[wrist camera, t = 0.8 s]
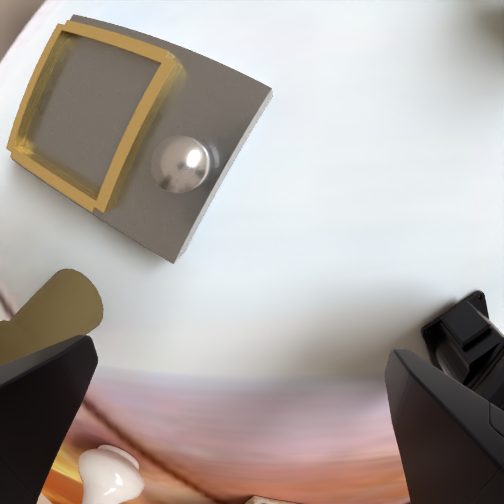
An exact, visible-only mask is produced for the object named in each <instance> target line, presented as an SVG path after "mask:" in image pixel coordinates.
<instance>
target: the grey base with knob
mask: <svg viewBox="0 0 504 504" xmlns="http://www.w3.org/2000/svg"><path fill="white" fill-rule="evenodd" d="M272 97H273V94H272V88H270V87H268V86H266V85H264V84H262V83H260V82H259V81H257V80H255V79H253V78H251V77H249V76H247V75H244V74H242V73H240V72H238V71H236V70H234V69H232V68H230V67H228V66H225V65H223V64H221V63H219V62H217V61H214V60H212V59H210V58H207V57H205V56H203V55H200V54H198V53H195V52H193V51H191V50H188V49H185V48H183V47H180V46H178V45H175V44H172V43H170V42H167V41H164V40H161V39H159V38H156V37H153V36H150V35H147V34H144V33H141V32H138V31H135V30H131V29H128V28H125V27H121V26H118V25H114V24H111V23H107V22H103V21H99V20H95V19H91V18H87V17H83V16H78V15H74V14H73V16H72V18H71V19H70V21H69V20H67V22H66V23H65V25H62V24H57V26H56V28H55V30H54V32H53V33H52V35H51V37H50V39H49V41H48V43H47V45H46V47H45V49H44V51H43V53H42V55H41V57H40V59H39V61H38V63H37V65H36V68H35V70H34V72H33V74H32V77H31V79H30V81H29V84H28V86H27V89H26V91H25V94H24V96H23V99H22V101H21V104H20V107H19V110H18V112H17V115H16V118H15V121H14V124H13V127H12V131H11V134H10V137H9V140H8V144H7V149H8V150H9V151H11V156H10V157H11V158H12V160H14V161H15V162H16V163H18V164H19V165H21V166H22V167H23V168H25V169H26V170H28V171H29V172H31V173H32V174H33V175H35V176H36V177H38V178H39V179H41V180H42V181H44V182H45V183H46V184H48V185H49V186H51V187H52V188H54V189H55V190H57V191H58V192H60V193H61V194H63V195H64V196H66V197H67V198H69V199H70V200H72V201H73V202H75V203H76V204H78V205H79V206H81V207H83V208H84V209H86V210H87V211H89V212H90V213H92V214H93V215H95V216H96V217H98V218H100V219H101V220H103V221H104V222H106V223H107V224H109V225H111V226H112V227H114V228H115V229H117V230H119V231H120V232H122V233H123V234H125V235H127V236H128V237H130V238H131V239H133V240H135V241H136V242H138V243H140V244H141V245H143V246H144V247H146V248H148V249H149V250H151V251H153V252H154V253H156V254H158V255H159V256H161V257H163V258H164V259H166V260H168V261H169V262H171V263H173V264H174V263H175V262H176V261H177V260H178V259H179V257H180V256H181V255H182V254H183V253H184V252H185V250H186V248H187V246H188V244H189V242H190V241H191V239H192V237H193V235H194V233H195V231H196V229H197V227H198V225H199V223H200V222H201V220H202V218H203V216H204V214H205V212H206V210H207V209H208V207H209V205H210V203H211V201H212V199H213V197H214V196H215V194H216V192H217V190H218V188H219V187H220V185H221V183H222V181H223V179H224V178H225V176H226V174H227V172H228V171H229V169H230V167H231V165H232V164H233V162H234V160H235V158H236V157H237V155H238V153H239V151H240V150H241V148H242V146H243V145H244V143H245V141H246V139H247V138H248V136H249V134H250V133H251V131H252V129H253V128H254V126H255V124H256V123H257V121H258V119H259V118H260V116H261V114H262V113H263V111H264V110H265V108H266V106H267V105H268V103H269V101H270V100H271V98H272Z"/></svg>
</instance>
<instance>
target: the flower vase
mask: <svg viewBox="0 0 504 504" xmlns="http://www.w3.org/2000/svg"><path fill="white" fill-rule="evenodd" d="M78 470H79V474H80V477H81V479H82V482H83V487H84V494H83V501H82V504H120V503H122V502H126V501H130V500H132V499H134V498H136V497H138V496H139V495H140V494H141V493H142V491H143V489H144V486H145V484H144V480H143V477H142V475H141V473H140V472H139V463H138V462H137V460H136V459H135V458H134V457H133V456H131V455H130V454H129V453H127V452H125V451H124V450H122V449H120V448H118V447H115V446H112V445H105V444H103V445H100V446H99V447H98V449H90V450H86V451H84V452H83V453H82V454H81V455H80V456H79V459H78Z"/></svg>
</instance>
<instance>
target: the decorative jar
mask: <svg viewBox="0 0 504 504" xmlns="http://www.w3.org/2000/svg"><path fill="white" fill-rule="evenodd" d="M244 504H299V503H293V502H287V501H280V500H274V499H268V498H264V497H259V496H253V497H252V498H251V499H249V500H248V501H247V502H246V503H244Z"/></svg>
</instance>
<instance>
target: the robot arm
mask: <svg viewBox="0 0 504 504" xmlns="http://www.w3.org/2000/svg"><path fill="white" fill-rule="evenodd" d="M479 296H480V297H479ZM478 297H479V298H478ZM428 330H429V331H428ZM426 331H428V332H427V333H426ZM421 335H422V338H423V340H424V343H425V346H426V349H427V352H428V354H429V357H430V360H431V363H432V365H431V364H430V363H428V362H427V361H425V360H424V359H422V358H421V357H419V356H417V355H416V354H414V353H413V352H411V351H410V350H408V349H407V348H394V349H392V350H391V352H390V355H389V359H388V363H387V367H386V371H385V382H386V388H387V394H388V400H389V406H390V413H391V420H392V424H393V429H394V433H395V436H396V440H397V444H398V448H399V452H400V456H401V460H402V464H403V469H404V473H405V478H406V482H407V487H408V491H409V496H410V501H411V504H504V335H503V334H502V333H501V332H500V331H499V330H498V329H497V328H496V327H495V326H494V325H493V324H492V323H491V322H490V320H489V316H488V310H487V305H486V300H485V295H484V293H483V292H482V291H480V290H479V291H477V292H475V293H474V294H473V295H471V296H470V297H468V298H467V299H465V300H464V301H463V302H461V303H460V304H458V305H457V306H455V307H454V308H452V309H451V310H449V311H448V312H446V313H445V314H443V315H442V316H440V317H439V318H437V319H435V320H434V321H432V322H431V323H429V324H427V325H426V326H424V327H423V328H422V330H421ZM97 364H98V356H97V353H96V350H95V347H94V344H93V341H92V339H91V337H90V336H87V335H81V334H80V335H76V336H74V337H71V338H69V339H66V340H64V341H61V342H59V343H56V344H54V345H51V346H48V347H46V348H43V349H41V350H38V351H36V352H33V353H31V354H28V355H26V356H23V357H21V358H18V359H15V360H13V361H10V362H8V363H5V364H3V365H0V504H36V503H37V500H38V497H39V495H40V493H41V490H42V488H43V485H44V483H45V481H46V478H47V476H48V474H49V471H50V469H51V467H52V465H53V462H54V460H55V458H56V456H57V453H58V451H59V449H60V447H61V445H62V443H63V440H64V438H65V436H66V434H67V432H68V430H69V428H70V426H71V424H72V422H73V420H74V418H75V416H76V413H77V411H78V410H79V408H80V406H81V403H82V401H83V399H84V397H85V394H86V392H87V389H88V386H89V384H90V381H91V379H92V376H93V374H94V371H95V369H96V366H97Z"/></svg>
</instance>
